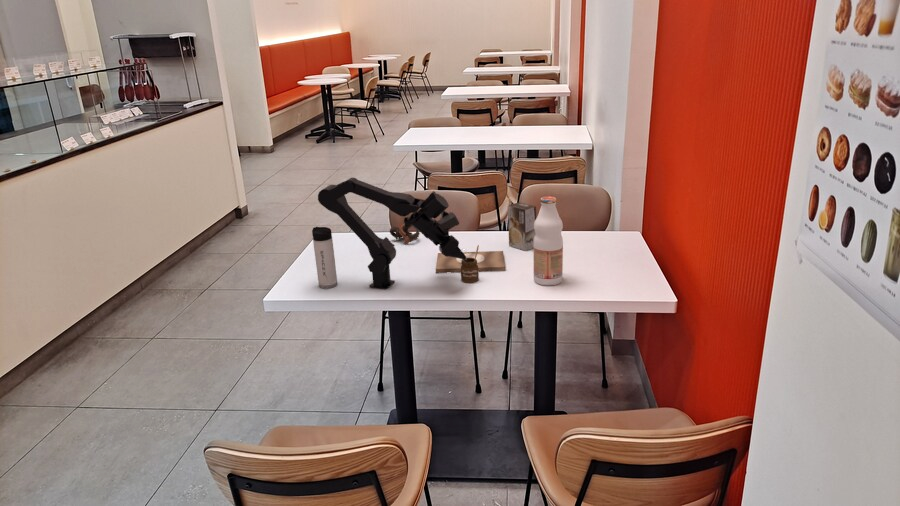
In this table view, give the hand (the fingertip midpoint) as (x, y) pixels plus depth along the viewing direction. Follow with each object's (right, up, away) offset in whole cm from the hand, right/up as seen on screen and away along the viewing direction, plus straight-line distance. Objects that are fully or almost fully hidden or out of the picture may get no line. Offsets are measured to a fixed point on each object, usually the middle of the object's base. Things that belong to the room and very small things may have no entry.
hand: (461, 253), depth 208 cm
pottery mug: (-22, +5, +45) cm, 51 cm away
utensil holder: (+3, -9, +4) cm, 10 cm away
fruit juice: (+28, -9, 0) cm, 30 cm away
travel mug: (-45, -11, +6) cm, 47 cm away
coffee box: (+24, +2, +32) cm, 40 cm away
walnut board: (+4, -4, +18) cm, 19 cm away
